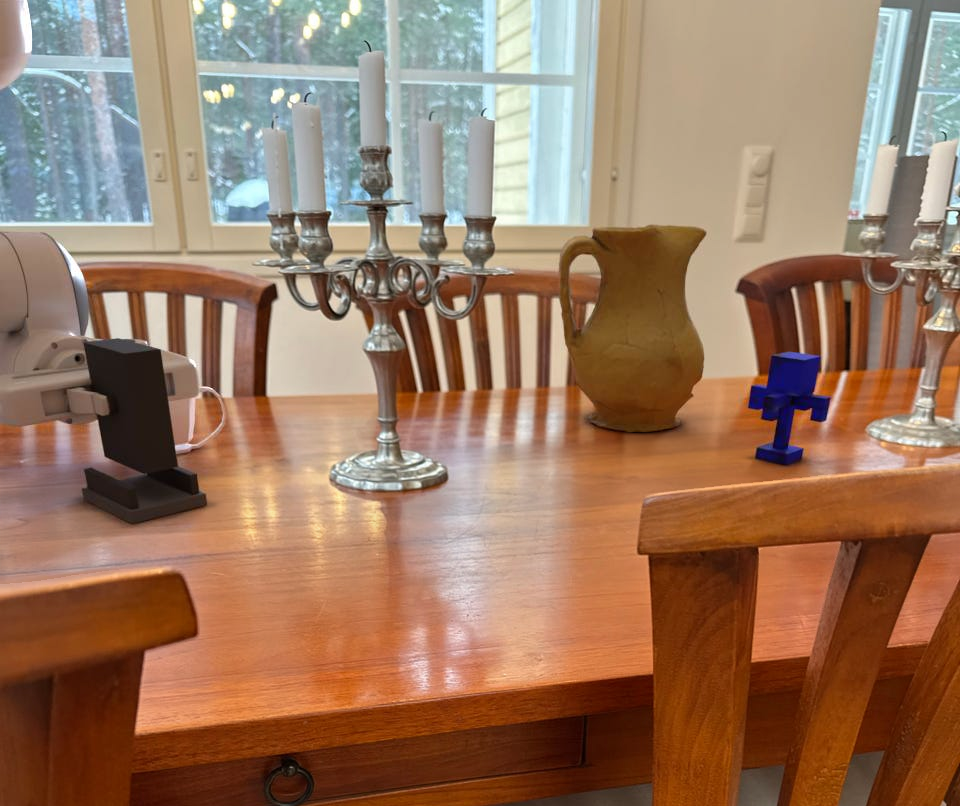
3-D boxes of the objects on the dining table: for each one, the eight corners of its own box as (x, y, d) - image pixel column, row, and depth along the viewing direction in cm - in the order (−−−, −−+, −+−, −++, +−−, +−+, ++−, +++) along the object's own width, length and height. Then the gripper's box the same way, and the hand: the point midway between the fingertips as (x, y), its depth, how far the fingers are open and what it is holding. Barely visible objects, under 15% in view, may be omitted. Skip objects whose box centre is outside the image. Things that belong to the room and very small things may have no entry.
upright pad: (144, 474, 84) (124, 353, 79) (104, 457, 89) (83, 342, 84) (178, 466, 86) (160, 348, 81) (137, 450, 91) (118, 338, 86)
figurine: (799, 451, 111) (818, 350, 106) (819, 468, 104) (841, 362, 99) (738, 449, 111) (754, 349, 106) (755, 467, 104) (773, 360, 99)
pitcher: (672, 441, 112) (688, 221, 102) (541, 427, 121) (544, 225, 111) (716, 418, 126) (734, 222, 115) (595, 408, 135) (602, 225, 125)
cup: (140, 444, 108) (129, 376, 105) (225, 438, 112) (217, 371, 108) (145, 460, 102) (133, 388, 99) (233, 452, 106) (226, 383, 102)
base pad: (132, 524, 84) (126, 491, 82) (83, 499, 90) (77, 468, 88) (207, 505, 89) (203, 473, 87) (156, 483, 95) (152, 453, 93)
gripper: (-46, 360, 84) (14, 383, 76) (154, 337, 98) (224, 354, 89) (-29, 427, 87) (31, 455, 79) (163, 395, 101) (231, 417, 92)
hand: (135, 401), depth 84 cm, fingers closed on upright pad, 3 cm apart
